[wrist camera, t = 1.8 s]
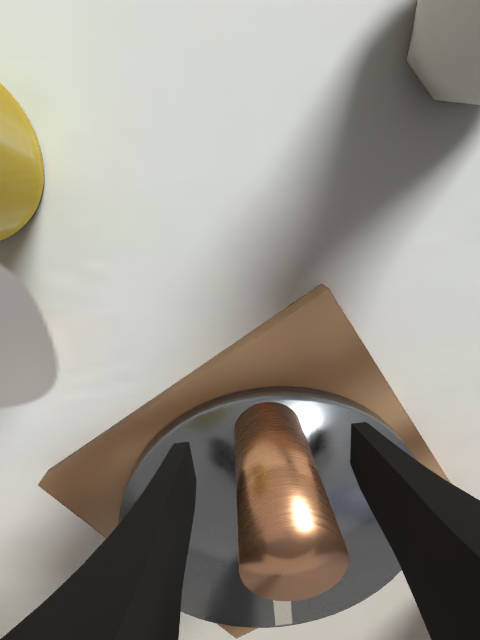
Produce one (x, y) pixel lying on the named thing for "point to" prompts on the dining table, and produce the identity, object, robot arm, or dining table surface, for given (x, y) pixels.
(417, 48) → the salt shaker
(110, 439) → the base
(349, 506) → the crank wheel
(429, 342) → the dining table surface
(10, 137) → the plant pot
